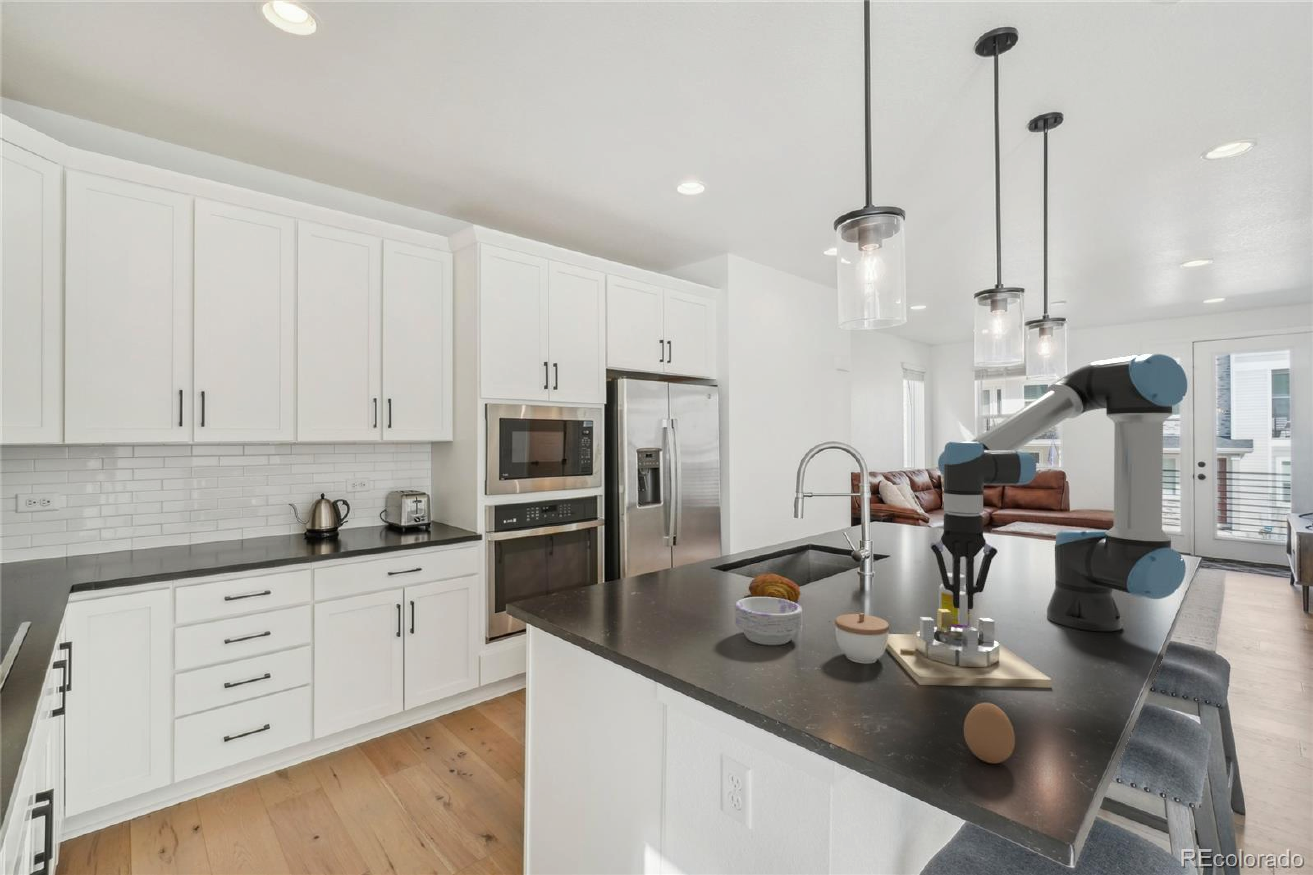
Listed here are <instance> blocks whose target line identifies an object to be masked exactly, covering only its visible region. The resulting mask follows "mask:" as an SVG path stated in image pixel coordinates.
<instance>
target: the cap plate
mask: <svg viewBox="0 0 1313 875" xmlns="http://www.w3.org/2000/svg"><path fill="white" fill-rule="evenodd" d="M886 650H887V651H888V652H889V653H890V655H892V656H893V657H894V659H895V660H897V662H898V663H899V664H900V665H901V666H902V667H903V668H904V669H905V670H906V672H907V673H908V674H909V675H910V676H911V677H912V678H913V680H915V682H916V683H917V684H918V685H919V686H957V687H958V686H961V687H962V686H963V687H967V686H968V687H1005V688H1007V687H1008V688H1009V687H1011V688H1046V689H1047V688H1049V689H1050V688H1051V689H1052V688H1053V687H1052V686H1053V680H1052V678H1050V677H1049V676H1047V675H1046V674H1044V672H1041V671H1040V670H1038V669H1037V668H1035V667H1034V666H1033V665H1031V664H1030V663H1029V662H1026V660H1024V659H1022V658H1021V657H1019V656H1018V655H1016V654H1015V653H1013V652H1012V651H1011V650H1009V649H1007V648H1006V647H1004V646H1003V645H1001V644H1000V643H999V660H998V661H997V662H995V663H994V664H993V665H991V666H987V667H967V666H958V665H956V666H954V665H951V664H947V663H944V662H940V661H936V660H933V659H929V658H928V657H925V656H924V655H923V654H922V653H921V652H920V651H919V650H918V649H917V648H916V633H915V634H908V633H907V634H904V633H903V634H902V633H900V634H899V633H898V634H897V633H895V634H894V633H888V643H887V647H886Z"/></svg>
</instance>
